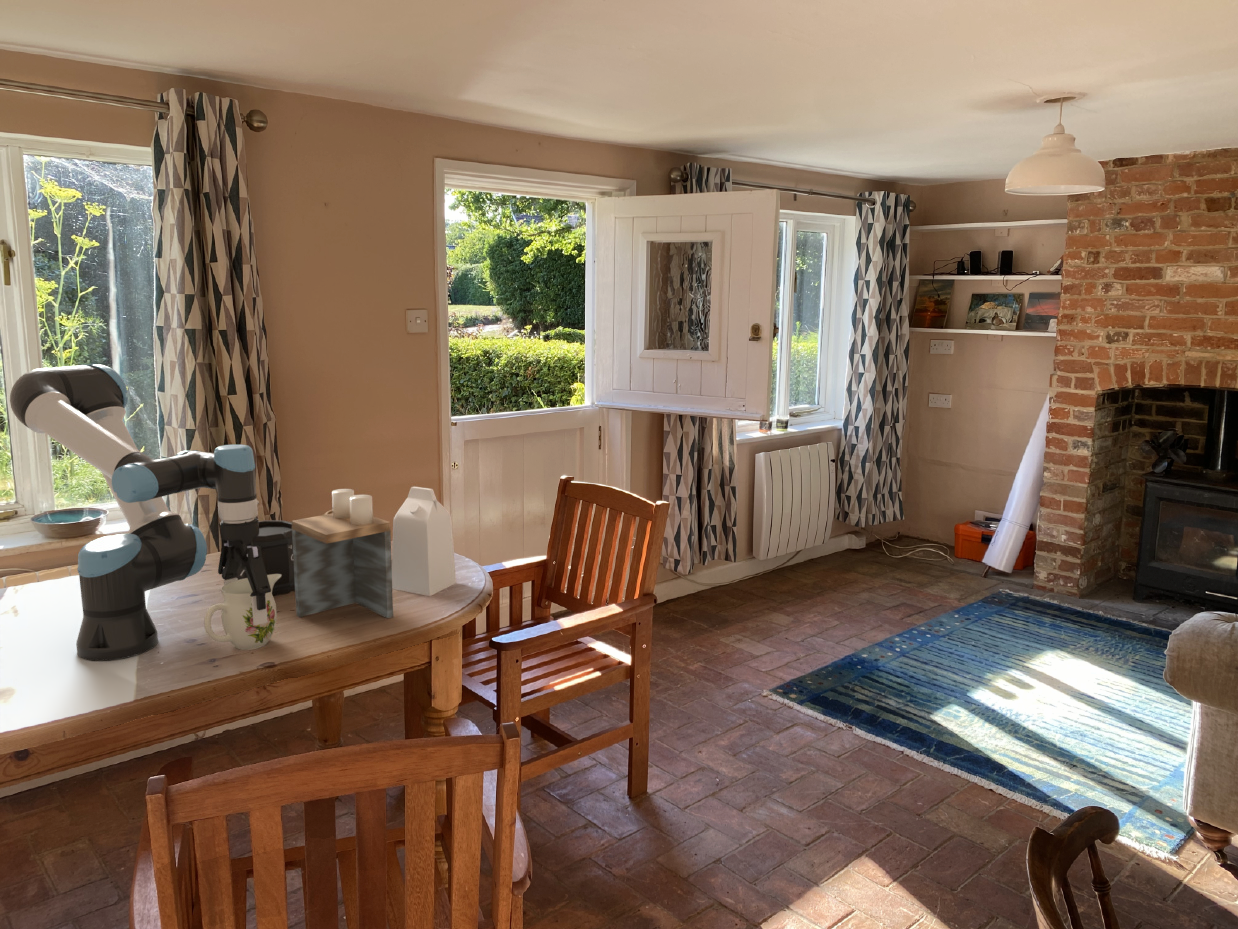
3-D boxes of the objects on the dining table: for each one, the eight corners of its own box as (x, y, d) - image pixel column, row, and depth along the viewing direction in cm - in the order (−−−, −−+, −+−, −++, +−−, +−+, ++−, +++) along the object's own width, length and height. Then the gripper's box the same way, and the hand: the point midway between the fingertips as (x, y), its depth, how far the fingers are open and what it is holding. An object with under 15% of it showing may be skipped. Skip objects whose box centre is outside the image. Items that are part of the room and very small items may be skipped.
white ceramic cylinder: (339, 519, 211) (338, 494, 209) (328, 515, 214) (327, 490, 213) (358, 516, 214) (358, 491, 213) (348, 512, 218) (347, 487, 216)
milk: (456, 583, 239) (454, 486, 234) (429, 596, 229) (427, 495, 224) (418, 576, 244) (416, 481, 239) (391, 588, 233) (388, 490, 228)
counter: (330, 634, 203) (326, 534, 198) (296, 615, 213) (291, 520, 209) (393, 616, 214) (390, 522, 209) (357, 599, 225) (354, 509, 220)
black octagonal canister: (230, 579, 238) (226, 521, 235) (302, 573, 244) (299, 516, 241) (227, 602, 221) (222, 540, 218) (304, 595, 228) (301, 534, 224)
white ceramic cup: (357, 526, 205) (356, 500, 204) (346, 522, 209) (345, 496, 207) (377, 522, 209) (376, 497, 208) (365, 518, 212) (364, 493, 211)
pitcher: (193, 652, 192) (188, 590, 189) (269, 627, 206) (265, 569, 203) (222, 665, 185) (217, 601, 183) (298, 638, 200) (295, 579, 197)
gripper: (283, 526, 184) (290, 625, 188) (231, 506, 201) (238, 597, 205) (247, 533, 179) (254, 635, 183) (196, 511, 196) (204, 605, 200)
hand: (246, 615), depth 194 cm, fingers open, 13 cm apart
